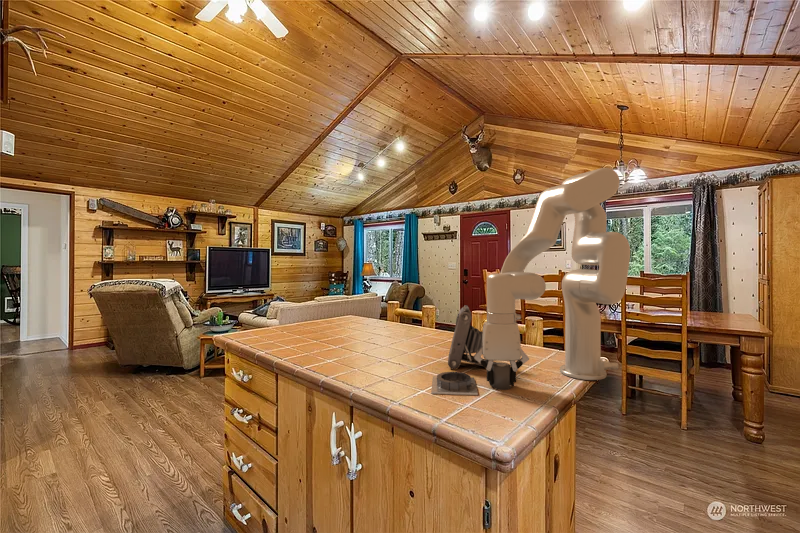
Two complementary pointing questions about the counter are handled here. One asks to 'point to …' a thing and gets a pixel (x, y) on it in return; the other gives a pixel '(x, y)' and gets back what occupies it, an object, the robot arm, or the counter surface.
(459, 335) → the camera
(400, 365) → the counter surface
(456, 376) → the mount
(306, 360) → the counter surface
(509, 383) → the dark grey cylinder
